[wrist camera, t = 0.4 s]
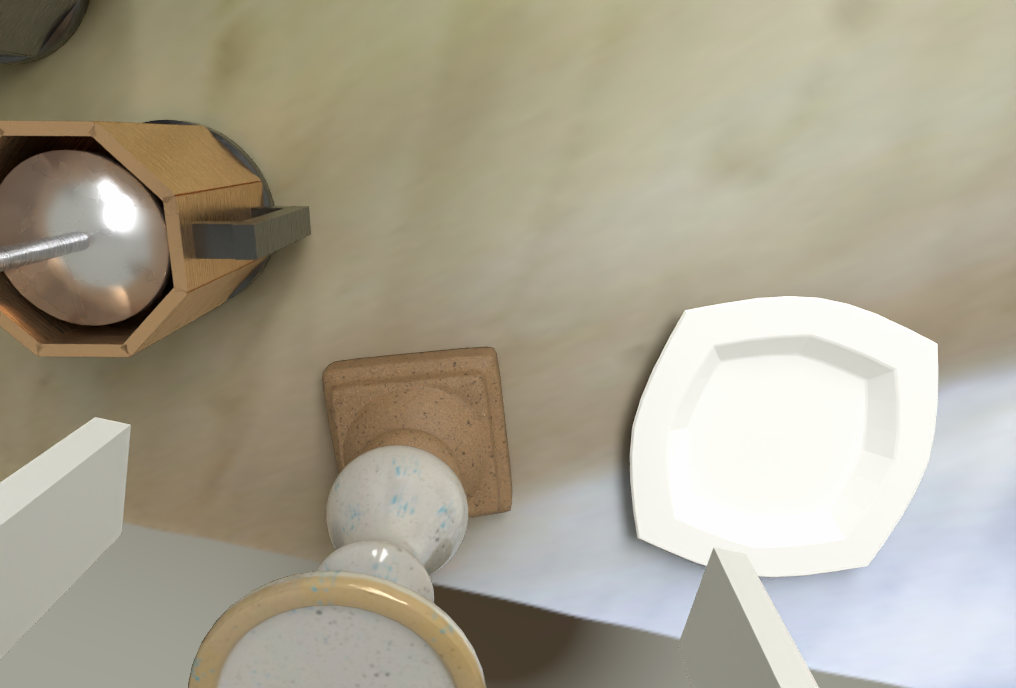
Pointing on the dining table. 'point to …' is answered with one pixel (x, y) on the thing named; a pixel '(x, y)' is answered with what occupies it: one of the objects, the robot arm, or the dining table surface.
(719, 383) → the plate
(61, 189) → the copper plunger
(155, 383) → the dining table surface
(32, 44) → the steel carafe
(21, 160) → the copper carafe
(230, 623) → the candle holder
